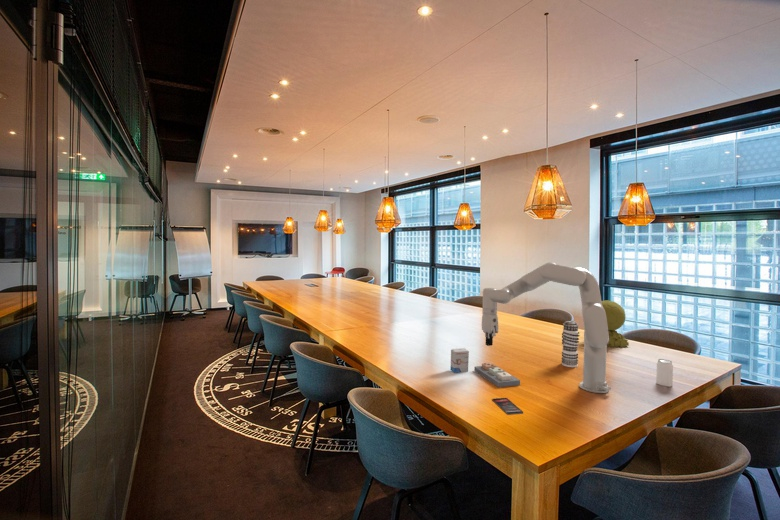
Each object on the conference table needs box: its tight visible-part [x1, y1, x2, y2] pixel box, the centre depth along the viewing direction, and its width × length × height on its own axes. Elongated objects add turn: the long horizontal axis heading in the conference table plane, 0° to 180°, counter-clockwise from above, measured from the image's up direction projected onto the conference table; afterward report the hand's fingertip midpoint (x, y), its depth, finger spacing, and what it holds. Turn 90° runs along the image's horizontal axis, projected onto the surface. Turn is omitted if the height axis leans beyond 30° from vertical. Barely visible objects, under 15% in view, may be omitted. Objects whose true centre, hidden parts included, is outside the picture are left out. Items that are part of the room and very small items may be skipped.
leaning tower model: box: [561, 320, 580, 368], centre depth 216 cm, size 9×9×25 cm
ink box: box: [450, 347, 470, 374], centre depth 205 cm, size 8×5×12 cm, turn 105°
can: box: [655, 358, 674, 388], centre depth 187 cm, size 6×6×12 cm
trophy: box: [601, 300, 630, 348], centre depth 263 cm, size 22×22×30 cm
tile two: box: [489, 366, 504, 376], centre depth 195 cm, size 5×5×3 cm
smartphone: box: [491, 397, 524, 416], centre depth 162 cm, size 7×1×15 cm
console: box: [474, 365, 521, 388], centre depth 195 cm, size 24×12×2 cm, turn 16°
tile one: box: [497, 371, 513, 381], centre depth 188 cm, size 5×5×3 cm
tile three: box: [481, 362, 497, 371], centre depth 203 cm, size 5×5×3 cm
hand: (489, 345), depth 202 cm, fingers closed
